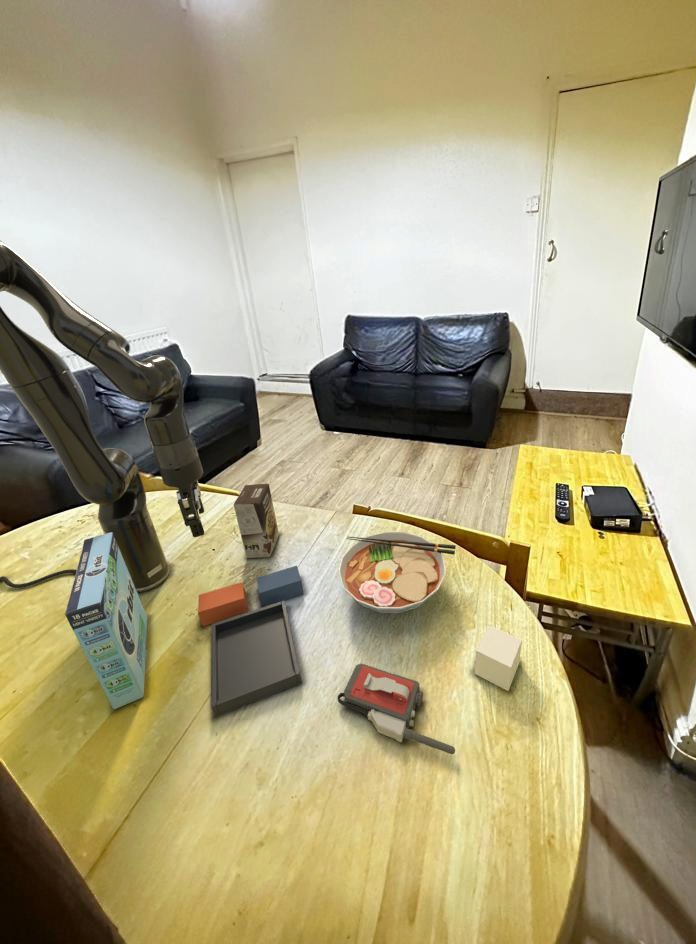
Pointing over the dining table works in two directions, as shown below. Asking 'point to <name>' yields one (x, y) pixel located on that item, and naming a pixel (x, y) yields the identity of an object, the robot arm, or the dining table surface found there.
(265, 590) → the blue rectangular block
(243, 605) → the pad
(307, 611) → the dining table surface
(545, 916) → the dining table surface
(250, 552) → the coffee box
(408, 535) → the ramen bowl
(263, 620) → the holder
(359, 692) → the walkie-talkie
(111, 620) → the gum box
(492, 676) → the beige cube
